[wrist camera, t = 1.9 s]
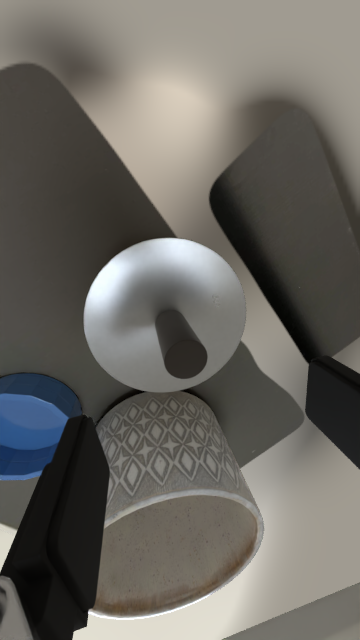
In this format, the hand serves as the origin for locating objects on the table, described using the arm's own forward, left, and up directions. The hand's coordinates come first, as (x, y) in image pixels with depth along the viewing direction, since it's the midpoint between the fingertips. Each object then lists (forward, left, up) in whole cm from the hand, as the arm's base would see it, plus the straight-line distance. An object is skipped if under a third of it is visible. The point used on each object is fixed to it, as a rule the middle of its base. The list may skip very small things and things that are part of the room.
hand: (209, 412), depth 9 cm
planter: (+21, -4, -19) cm, 28 cm away
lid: (0, 0, -10) cm, 10 cm away
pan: (+12, -19, -19) cm, 29 cm away
